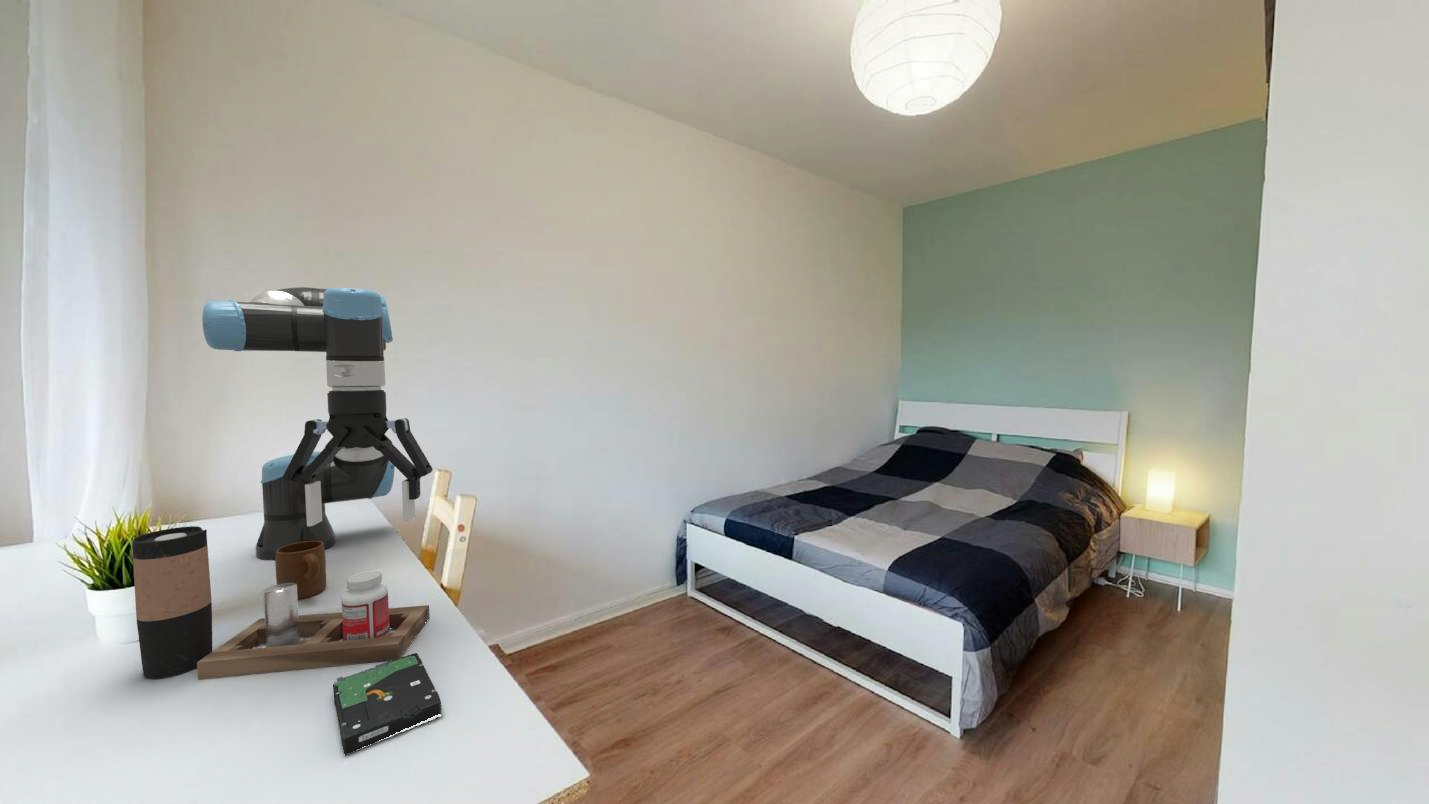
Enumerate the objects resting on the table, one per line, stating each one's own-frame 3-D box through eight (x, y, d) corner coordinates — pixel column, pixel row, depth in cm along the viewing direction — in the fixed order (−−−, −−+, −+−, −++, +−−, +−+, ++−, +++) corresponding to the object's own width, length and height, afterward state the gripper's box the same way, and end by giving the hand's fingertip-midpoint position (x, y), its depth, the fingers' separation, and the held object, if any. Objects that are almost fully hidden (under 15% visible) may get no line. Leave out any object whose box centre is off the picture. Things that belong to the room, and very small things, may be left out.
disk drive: (444, 721, 65) (417, 668, 76) (443, 700, 64) (417, 650, 75) (344, 762, 58) (331, 697, 69) (343, 739, 58) (330, 678, 69)
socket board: (261, 632, 85) (260, 618, 85) (429, 618, 90) (428, 605, 90) (198, 679, 72) (196, 662, 72) (398, 659, 77) (397, 643, 77)
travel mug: (124, 684, 71) (114, 544, 70) (167, 654, 78) (158, 528, 77) (192, 675, 73) (183, 539, 72) (227, 647, 80) (219, 524, 79)
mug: (341, 596, 98) (339, 549, 98) (292, 612, 92) (289, 561, 92) (319, 581, 105) (317, 537, 105) (272, 594, 99) (269, 548, 99)
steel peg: (277, 644, 81) (274, 583, 81) (305, 641, 82) (302, 581, 82) (260, 658, 77) (256, 594, 77) (290, 655, 78) (286, 592, 78)
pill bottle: (385, 628, 86) (382, 565, 86) (394, 642, 82) (391, 575, 81) (340, 642, 82) (337, 575, 81) (347, 657, 78) (344, 587, 77)
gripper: (248, 390, 73) (256, 533, 75) (434, 389, 78) (439, 524, 80) (282, 388, 81) (288, 518, 82) (450, 387, 86) (454, 511, 87)
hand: (362, 521), depth 81 cm, fingers open, 13 cm apart
